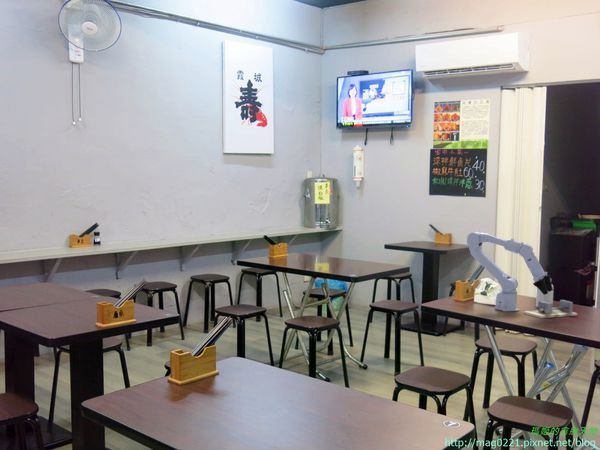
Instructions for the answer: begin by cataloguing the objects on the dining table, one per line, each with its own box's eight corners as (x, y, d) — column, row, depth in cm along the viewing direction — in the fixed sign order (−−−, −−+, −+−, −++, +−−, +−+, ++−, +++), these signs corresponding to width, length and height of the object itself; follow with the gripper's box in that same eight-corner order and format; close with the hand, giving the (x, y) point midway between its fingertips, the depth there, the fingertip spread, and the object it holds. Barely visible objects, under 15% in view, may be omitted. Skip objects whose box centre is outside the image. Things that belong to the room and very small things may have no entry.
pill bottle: (555, 309, 314) (556, 279, 313) (539, 308, 314) (540, 279, 313) (549, 305, 322) (550, 277, 321) (533, 305, 322) (534, 276, 321)
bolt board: (540, 318, 291) (540, 305, 290) (523, 313, 301) (524, 301, 300) (577, 315, 299) (577, 303, 299) (559, 310, 310) (560, 298, 309)
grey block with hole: (547, 313, 295) (547, 303, 295) (537, 311, 301) (538, 301, 301) (551, 313, 296) (552, 303, 296) (542, 310, 302) (543, 301, 302)
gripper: (537, 266, 294) (551, 292, 291) (546, 261, 305) (560, 286, 302) (524, 272, 298) (538, 297, 295) (533, 267, 309) (547, 292, 307)
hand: (548, 292), depth 299 cm, fingers open, 7 cm apart
